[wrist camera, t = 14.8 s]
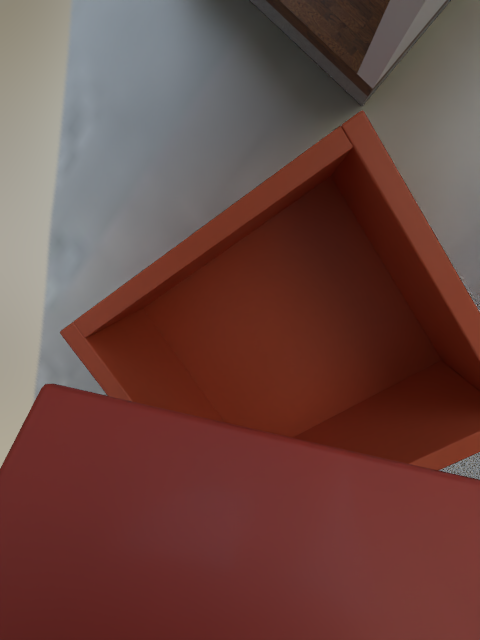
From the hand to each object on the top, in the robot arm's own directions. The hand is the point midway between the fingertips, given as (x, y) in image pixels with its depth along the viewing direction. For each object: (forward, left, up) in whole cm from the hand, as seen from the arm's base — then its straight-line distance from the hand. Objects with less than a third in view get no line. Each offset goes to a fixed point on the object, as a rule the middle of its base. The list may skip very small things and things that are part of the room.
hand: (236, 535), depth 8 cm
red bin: (-2, 0, -13) cm, 13 cm away
